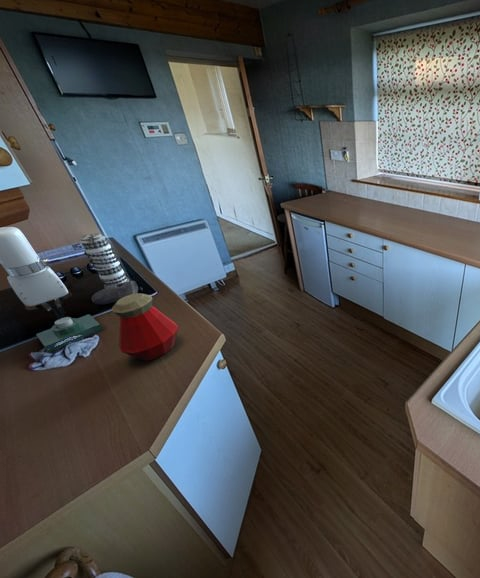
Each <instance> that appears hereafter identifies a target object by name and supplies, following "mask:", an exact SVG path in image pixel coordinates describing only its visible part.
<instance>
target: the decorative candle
mask: <svg viewBox="0 0 480 578" xmlns="http://www.w3.org/2000/svg"><path fill="white" fill-rule="evenodd" d="M79 243H80V244H81V245H82V247H83V254H84V256H86V259H87V260H88V262H89V263H90V265H91V264H92V265H91V266H92V268H93V270H95V271H97V273H98V276H99V278H100V282H101V283H102V284H103V287H104V289H105V288H107V287H110V286H113V285H116V284H120V283H124V282H128V281H130V279H129V278H128V276H127V273H126V272H125V271H124V269H123V268H122V266H121V265H120V264H121V262H120V259H119V258H118V255H117V254H116V251H115V250H114V249H115V247H113V246H111V244H110V243H109V242H108V239H107V236H106V235H104V234H101V233H89V234H86V235H83V236H82V237H81V239H80V240H79Z"/></svg>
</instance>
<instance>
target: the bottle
mask: <svg viewBox="0 0 480 578" xmlns="http://www.w3.org/2000/svg"><path fill="white" fill-rule="evenodd" d="M111 311H112V313H114V314H115V315H117V316H118V317H119V319H120V320H119V334H118V335H119V336H118V347H119V350H120V352H121V353H123V354H126V355H128V356H130V357H133V358H136V359H138V360H140V361H145V362H146V361H147V362H148V361H152V360H156V359H159V358H160V357H162V356H164V355H166V354H167V353H169V352H170V351H171V350H172V349H173V347H174V346H175V344H176V340H177V335H178V333H179V332H178V331H179V327H178V325H177V324H176V322H175V321H174V320H172V319H170V317H168V316H166V314H164V313H163V312H161V311H160V310H159V309H157V308H156V307H155V306H153V297H152V296H151V295H150V294H146V293H138V292H137V293H136V294H131V295H128V296H125V297H123V298H121V299H120V300H118V301H117V302H115V303H114V304H113V306H112V308H111Z"/></svg>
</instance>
